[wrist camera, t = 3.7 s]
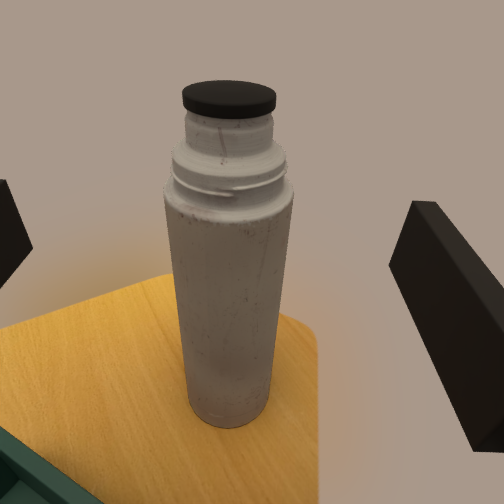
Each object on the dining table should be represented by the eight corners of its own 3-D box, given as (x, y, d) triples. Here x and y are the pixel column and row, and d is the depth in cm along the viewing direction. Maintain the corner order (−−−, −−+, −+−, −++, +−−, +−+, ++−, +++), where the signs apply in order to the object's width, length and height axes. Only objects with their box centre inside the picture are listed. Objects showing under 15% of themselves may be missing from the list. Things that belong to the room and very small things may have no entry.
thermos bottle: (207, 346, 40) (191, 65, 22) (277, 366, 38) (317, 79, 21) (173, 413, 34) (117, 96, 16) (255, 440, 32) (288, 119, 15)
